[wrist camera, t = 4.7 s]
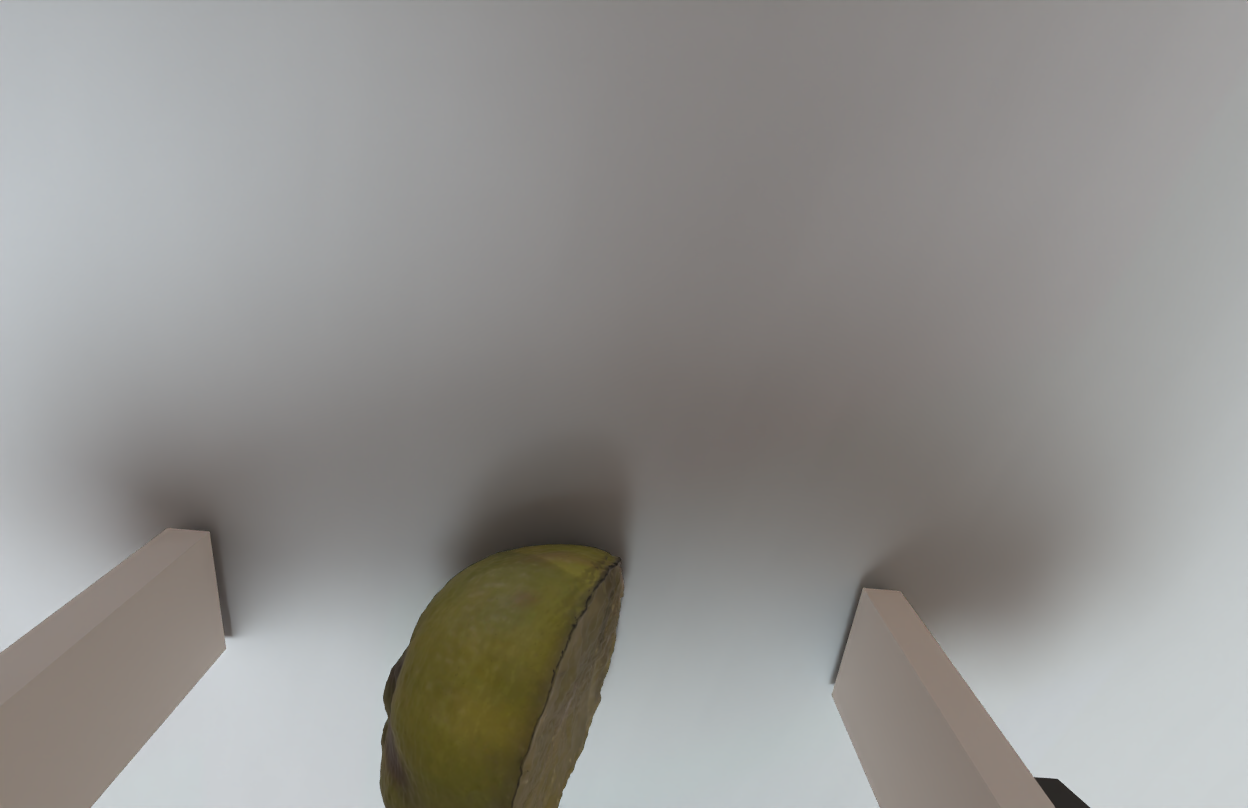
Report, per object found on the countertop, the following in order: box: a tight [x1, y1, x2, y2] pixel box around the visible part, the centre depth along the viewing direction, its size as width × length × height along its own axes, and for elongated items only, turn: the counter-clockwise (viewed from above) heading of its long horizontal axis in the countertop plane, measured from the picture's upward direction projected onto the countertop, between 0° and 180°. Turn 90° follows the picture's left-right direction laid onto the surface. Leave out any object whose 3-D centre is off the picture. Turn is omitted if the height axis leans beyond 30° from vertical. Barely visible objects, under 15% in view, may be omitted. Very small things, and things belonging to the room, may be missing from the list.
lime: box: [380, 544, 624, 808], centre depth 10 cm, size 4×5×5 cm
